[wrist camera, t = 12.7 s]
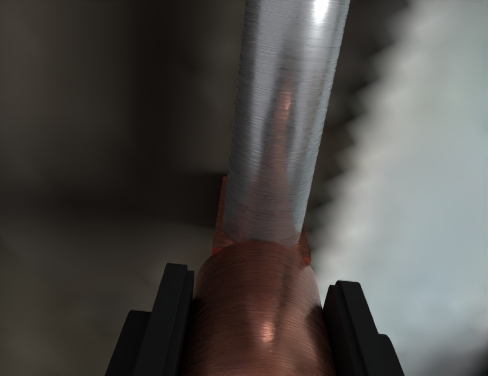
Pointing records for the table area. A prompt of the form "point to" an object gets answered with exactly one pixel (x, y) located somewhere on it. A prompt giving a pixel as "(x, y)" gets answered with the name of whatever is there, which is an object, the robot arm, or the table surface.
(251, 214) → the copper head hammer
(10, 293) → the table surface
